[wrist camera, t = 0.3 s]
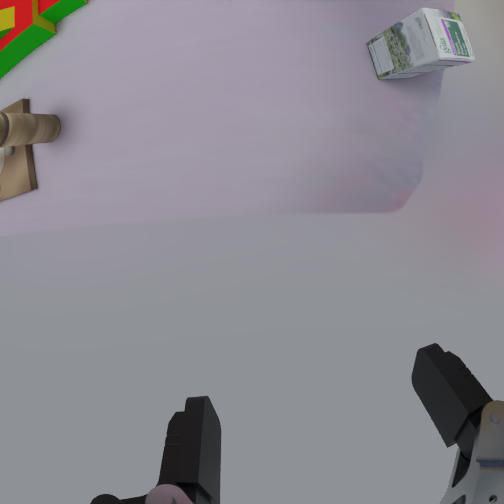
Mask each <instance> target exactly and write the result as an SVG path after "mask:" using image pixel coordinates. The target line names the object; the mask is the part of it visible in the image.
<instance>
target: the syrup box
mask: <svg viewBox="0 0 504 504" xmlns="http://www.w3.org/2000/svg"><path fill="white" fill-rule="evenodd" d="M367 46H368V49H369V52H370V55H371V57H372V61H373V64H374V67H375V70H376V73H377V77H378V79H394V78H411V77H414V76H417V75H420V74H423V73H427V72H431V71H435V70H439V69H443V68H448V67H453V66H458V65H463V64H467V63H471V62H474V61H475V57H474V54H473V51H472V48H471V45H470V42H469V39H468V37H467V34H466V31H465V29H464V26H463V24H462V21H461V19H460V16H459V14H456V13H452V12H448V11H444V10H439V9H432V8H424V7H422V8H420V9H419V10H417V11H415V12H414V13H412V14H410V15H409V16H407V17H406V18H404V19H402V20H401V21H399V22H398V23H396V24H394V25H393V26H391V27H390V28H388V29H387V30H385V31H384V32H382V33H381V34H379V35H378V36H376V37H375V38H373V39H372V40H370V41H369V42H367Z"/></svg>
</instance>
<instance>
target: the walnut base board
mask: <svg viewBox="0 0 504 504" xmlns="http://www.w3.org/2000/svg"><path fill="white" fill-rule="evenodd" d="M0 112H2V113H29V99H21V100H19V101H17V102H16V103H14V104H12V105H10V106H8V107H7V108H5V109H3V110H2V111H0ZM34 189H37V183H36V177H35V170H34V163H33V155H32V146H31V144H26V145H17V146H9V147H2V148H0V201H1V200H4V199H7V198H10V197H12V196H15V195H18V194H21V193H24V192H27V191H31V190H34Z"/></svg>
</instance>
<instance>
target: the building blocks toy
mask: <svg viewBox="0 0 504 504" xmlns="http://www.w3.org/2000/svg"><path fill="white" fill-rule="evenodd" d="M85 4H87V0H0V79H1V78H2V77H3V76H4V75H5V74H6V73H7V72H8V71H9V70H11V69H12V68H13V67H14V66H15V65H16V64H17V63H19V62H20V61H21V60H22V59H23V58H25V57H26V56H27V55H28V54H30V53H31V52H32V51H34V50H35V49H36V48H37V47H39V46H40V45H42V44H43V43H44V42H46V41H47V40H48V39H50V38H51V37H53V36H54V35H56V30H55V23H56V22H58V21H59V20H61V19H62V18H64V17H65V16H67V15H69V14H70V13H72V12H73V11H75V10H77V9H78V8H80V7H82V6H83V5H85Z"/></svg>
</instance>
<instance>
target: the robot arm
mask: <svg viewBox="0 0 504 504" xmlns="http://www.w3.org/2000/svg"><path fill="white" fill-rule="evenodd" d="M412 384H413V387H414V390H415V391H416V393H417V395H418V396H419V398H420V400H421V401H422V403H423V405H424V407H425V408H426V410H427V412H428V413H429V415H430V417H431V419H432V420H433V422H434V424H435V426H436V427H437V429H438V431H439V433H440V435H441V437H442V439H443V440H444V442H445V444H446V446H447V448H448V447H450V446H452V445H454V444H456V443H457V444H458V446H459V448H458V450H457V454H456V458H455V463H454V467H453V471H452V474H451V478H450V482H449V485H448V488H447V491H446V493H445V495H444V497H443V498H442V500H441V502H440V504H504V402H503V401H499V400H495V401H494V400H492V398H491V397H490V396H489V395H488V393H487V392H486V391H485V389H484V388H483V387H482V386H481V384H480V383H479V382H478V380H477V379H476V378H475V377H474V375H473V374H471V371H470V370H469V369H468V368H466V365H465V364H464V363H463V362H462V360H461V359H460V358H459V357H458V356H456V355H454V354H452V353H451V352H449V351H448V352H444V351H443V350H442V348H441V347H440V346H439V345H438V344H436V343H434V344H431V345H428V346H426V347H423V348H420V349H419V350H418V351H417V355H416V360H415V364H414V368H413V372H412ZM220 463H221V425H220V421H219V418H218V416H217V414H216V412H215V409H214V408H213V405H212V403H211V401H210V399H209V397H208V396H200V397H189V398H187V400H186V404H185V411H184V412H176V413H175V414H174V415H173V417H172V418H171V420H170V421H169V424H168V429H167V437H166V440H165V447H164V452H163V459H162V464H161V470H160V476H159V481H158V484H157V485H156V487H155V488H153V489H152V490H151V491H150V492H149V493H148V494H146V495H144V496H140V497H135V498H129V499H122V500H119V499H118V498H116V497H115V496H113V495H109V494H102V495H99V496H97V497H96V498H94V499H93V500H92V502H91V503H90V504H220Z"/></svg>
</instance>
